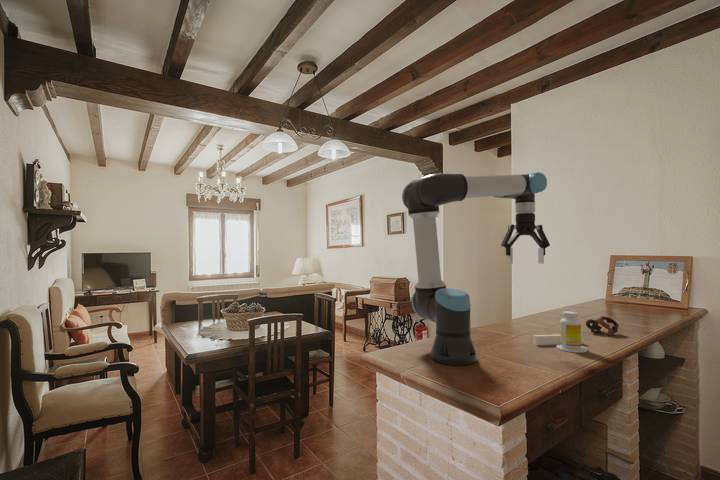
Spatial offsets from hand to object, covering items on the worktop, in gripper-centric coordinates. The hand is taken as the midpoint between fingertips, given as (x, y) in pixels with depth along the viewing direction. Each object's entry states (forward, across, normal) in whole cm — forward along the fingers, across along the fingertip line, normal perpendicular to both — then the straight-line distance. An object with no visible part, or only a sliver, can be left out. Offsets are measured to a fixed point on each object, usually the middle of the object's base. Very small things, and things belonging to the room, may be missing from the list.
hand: (525, 263), depth 152 cm
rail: (+31, -6, +12) cm, 34 cm away
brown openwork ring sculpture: (+30, -35, -2) cm, 46 cm away
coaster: (+31, -7, +18) cm, 36 cm away
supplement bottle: (+30, -7, +18) cm, 36 cm away
